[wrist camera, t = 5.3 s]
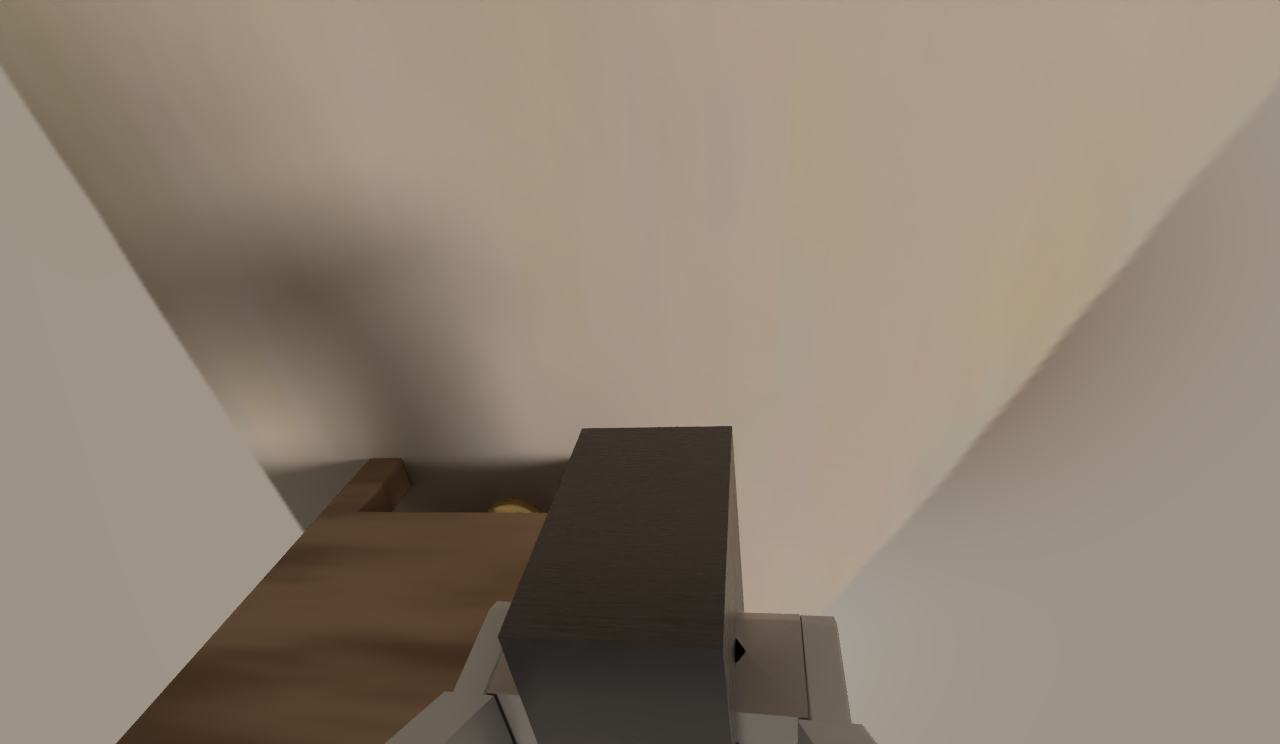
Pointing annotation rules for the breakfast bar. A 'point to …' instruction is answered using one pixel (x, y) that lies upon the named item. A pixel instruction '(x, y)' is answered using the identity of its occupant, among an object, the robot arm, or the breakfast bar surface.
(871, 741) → the robot arm
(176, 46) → the breakfast bar surface
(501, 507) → the brass disc
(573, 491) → the scraper
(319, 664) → the walnut cabinet
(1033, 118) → the breakfast bar surface
